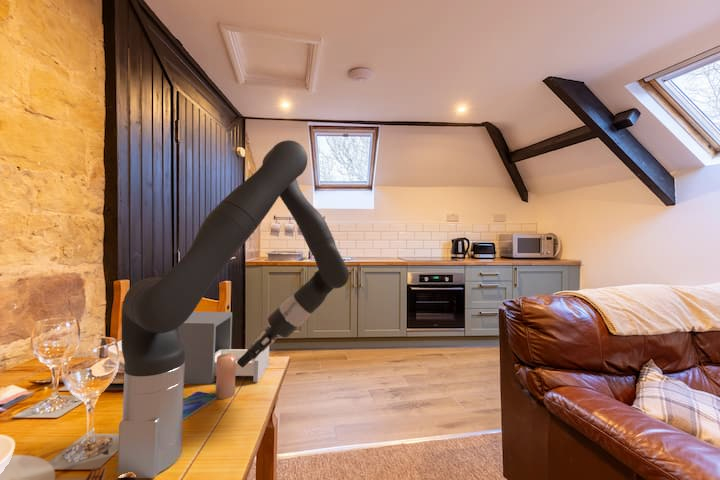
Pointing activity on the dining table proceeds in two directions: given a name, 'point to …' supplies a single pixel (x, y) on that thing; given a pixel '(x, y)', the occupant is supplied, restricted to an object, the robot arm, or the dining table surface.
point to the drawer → (252, 367)
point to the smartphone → (196, 402)
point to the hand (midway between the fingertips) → (245, 358)
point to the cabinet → (204, 344)
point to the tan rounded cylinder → (225, 376)
